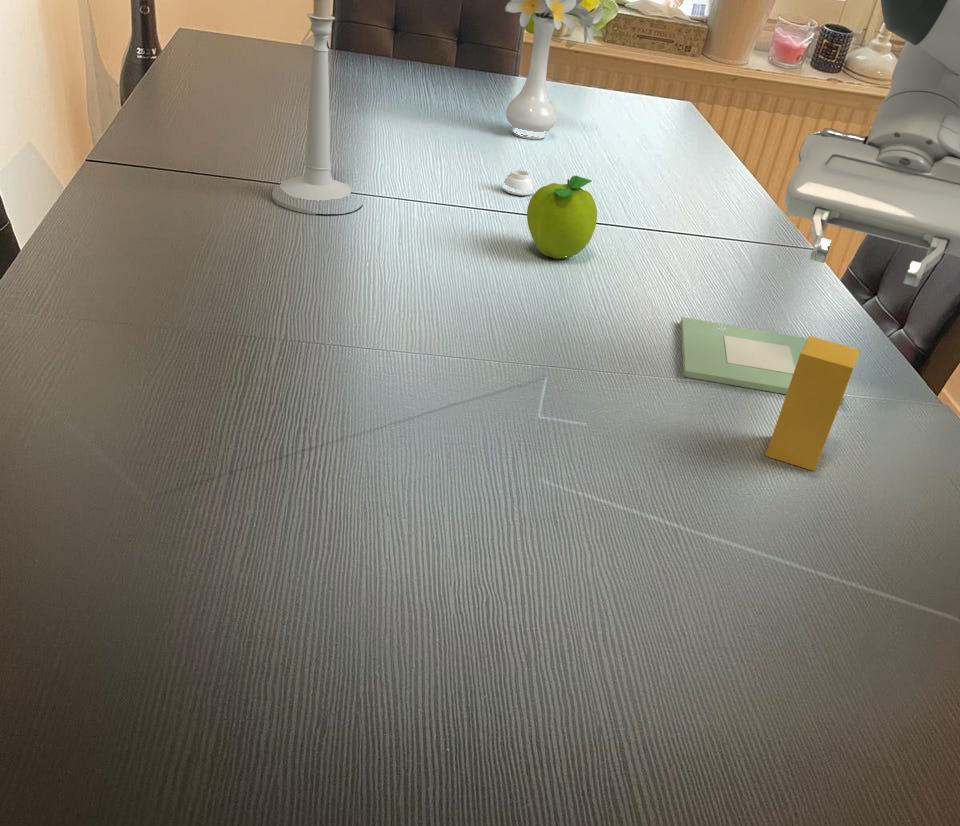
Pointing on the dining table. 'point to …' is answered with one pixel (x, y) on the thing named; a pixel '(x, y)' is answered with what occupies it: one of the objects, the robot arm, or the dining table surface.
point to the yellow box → (812, 402)
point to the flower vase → (544, 58)
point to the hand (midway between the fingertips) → (863, 270)
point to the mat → (739, 355)
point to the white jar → (519, 182)
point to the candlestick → (317, 124)
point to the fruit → (562, 218)
